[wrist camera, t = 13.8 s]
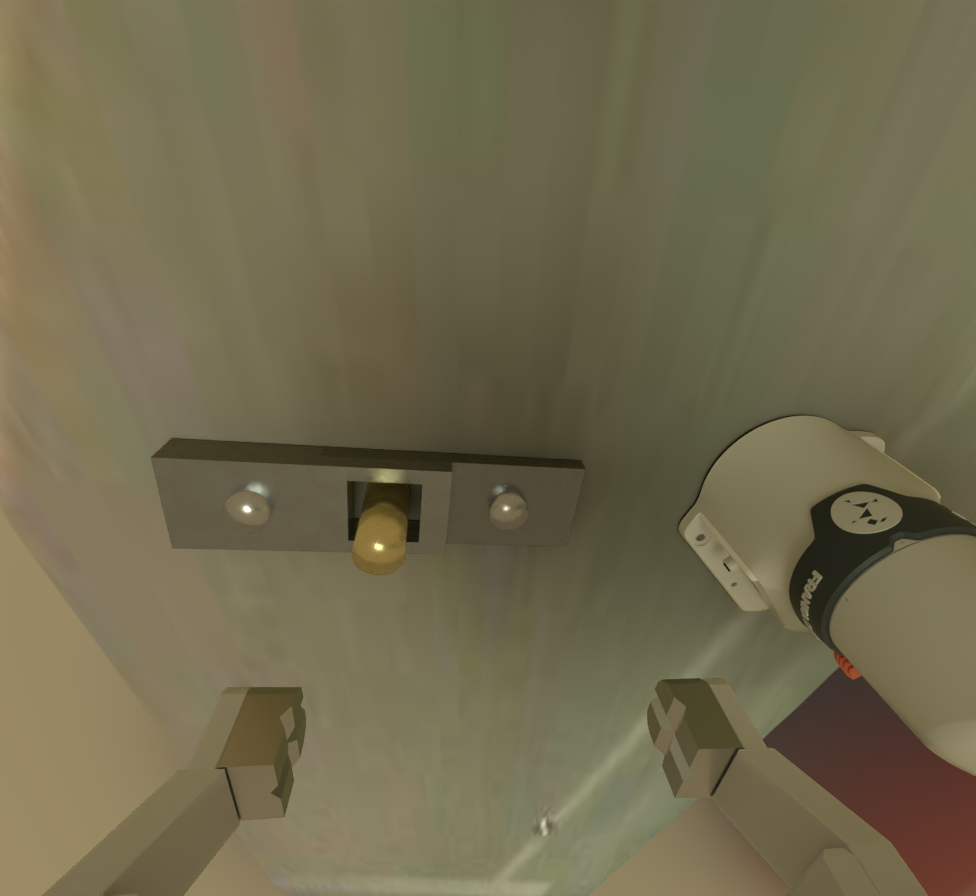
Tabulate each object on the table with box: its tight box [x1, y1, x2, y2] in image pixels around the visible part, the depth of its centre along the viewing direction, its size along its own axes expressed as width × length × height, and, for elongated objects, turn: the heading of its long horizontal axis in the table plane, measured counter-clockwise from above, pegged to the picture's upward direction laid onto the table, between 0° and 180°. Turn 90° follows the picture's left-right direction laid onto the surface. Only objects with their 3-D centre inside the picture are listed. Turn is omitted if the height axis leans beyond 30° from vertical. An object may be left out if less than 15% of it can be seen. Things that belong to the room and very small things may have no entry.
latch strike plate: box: [151, 438, 586, 555], centre depth 38 cm, size 32×8×4 cm, turn 84°
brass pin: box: [352, 482, 410, 575], centre depth 36 cm, size 4×4×8 cm
